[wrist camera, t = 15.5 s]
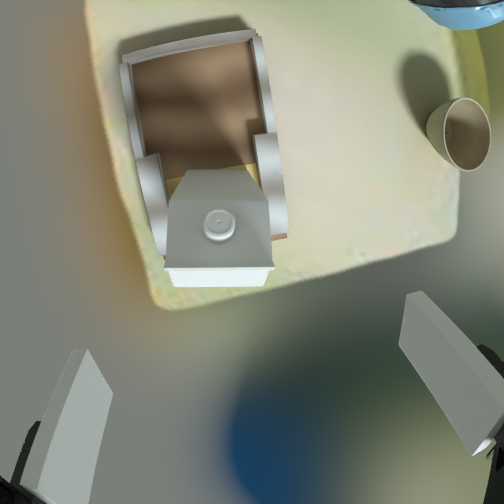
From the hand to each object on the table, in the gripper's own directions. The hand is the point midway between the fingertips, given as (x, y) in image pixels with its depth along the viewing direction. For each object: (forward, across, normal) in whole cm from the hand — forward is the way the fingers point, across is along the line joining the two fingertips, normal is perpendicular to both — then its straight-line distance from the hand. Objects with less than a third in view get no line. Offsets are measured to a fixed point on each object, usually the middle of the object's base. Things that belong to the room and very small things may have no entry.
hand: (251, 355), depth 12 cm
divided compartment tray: (+29, -2, +6) cm, 30 cm away
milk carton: (+28, -1, -1) cm, 28 cm away
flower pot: (+29, +32, +5) cm, 44 cm away
